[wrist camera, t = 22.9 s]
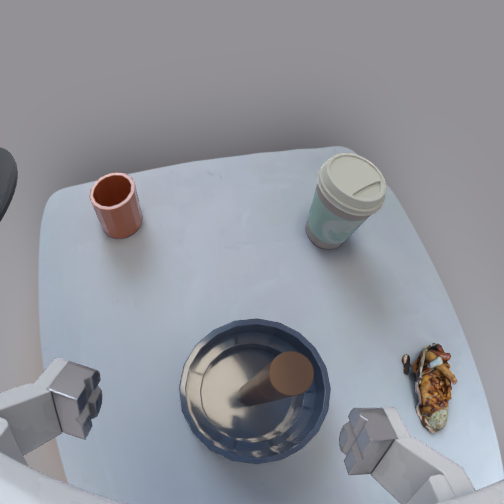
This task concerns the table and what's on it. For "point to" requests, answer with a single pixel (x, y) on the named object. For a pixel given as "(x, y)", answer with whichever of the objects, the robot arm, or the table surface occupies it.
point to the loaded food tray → (432, 385)
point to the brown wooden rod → (279, 380)
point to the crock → (116, 204)
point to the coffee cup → (344, 199)
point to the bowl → (234, 377)
